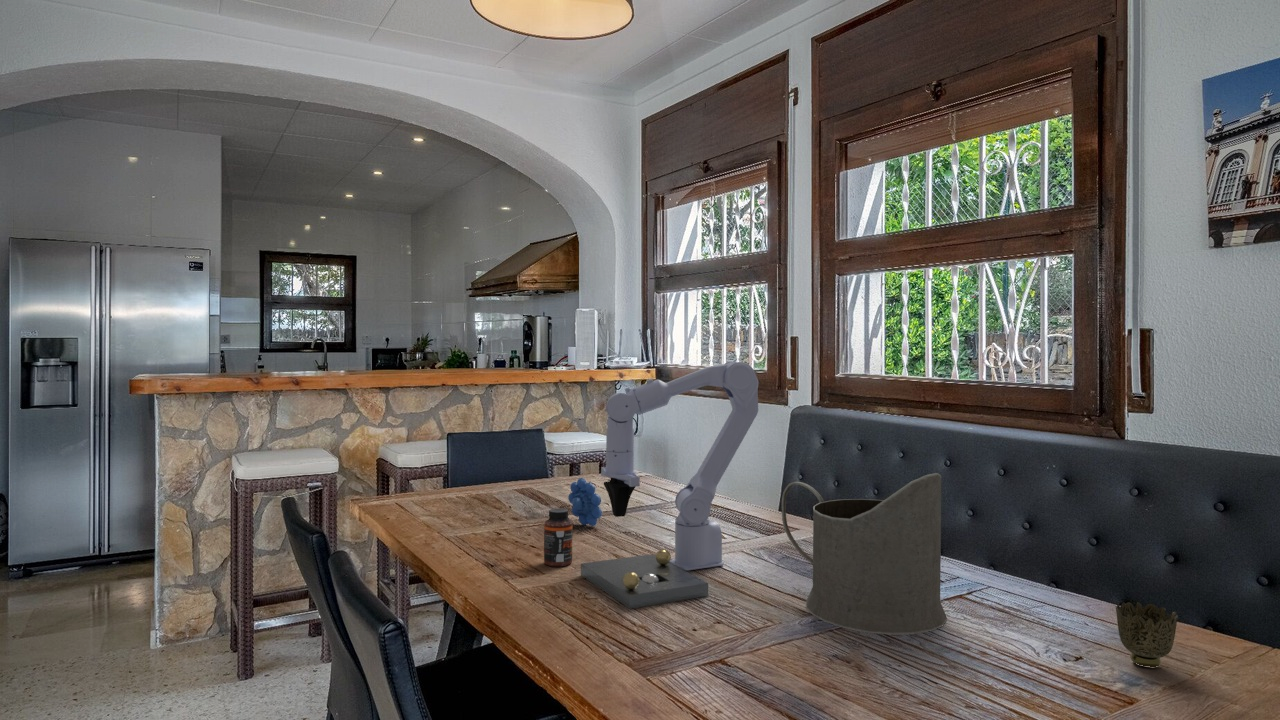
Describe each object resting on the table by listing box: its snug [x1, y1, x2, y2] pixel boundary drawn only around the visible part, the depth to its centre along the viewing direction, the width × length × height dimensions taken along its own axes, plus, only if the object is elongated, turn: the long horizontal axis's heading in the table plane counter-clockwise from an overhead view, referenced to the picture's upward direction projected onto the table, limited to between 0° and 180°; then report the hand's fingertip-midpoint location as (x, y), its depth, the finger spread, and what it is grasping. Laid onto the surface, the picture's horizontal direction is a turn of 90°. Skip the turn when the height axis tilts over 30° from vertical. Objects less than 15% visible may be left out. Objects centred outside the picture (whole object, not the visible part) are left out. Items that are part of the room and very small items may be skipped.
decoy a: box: [655, 549, 672, 565], centre depth 151 cm, size 3×3×3 cm
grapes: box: [567, 477, 603, 527], centre depth 195 cm, size 12×7×12 cm, turn 48°
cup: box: [1114, 601, 1179, 667], centre depth 109 cm, size 8×7×8 cm
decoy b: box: [623, 572, 639, 589], centre depth 135 cm, size 3×3×3 cm
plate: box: [580, 553, 709, 610], centre depth 145 cm, size 16×22×2 cm
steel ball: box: [641, 573, 659, 584], centre depth 142 cm, size 3×3×3 cm
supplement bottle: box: [543, 508, 574, 568], centre depth 160 cm, size 6×6×11 cm
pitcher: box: [781, 472, 948, 636], centre depth 135 cm, size 23×32×25 cm
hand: (619, 515), depth 159 cm, fingers closed
